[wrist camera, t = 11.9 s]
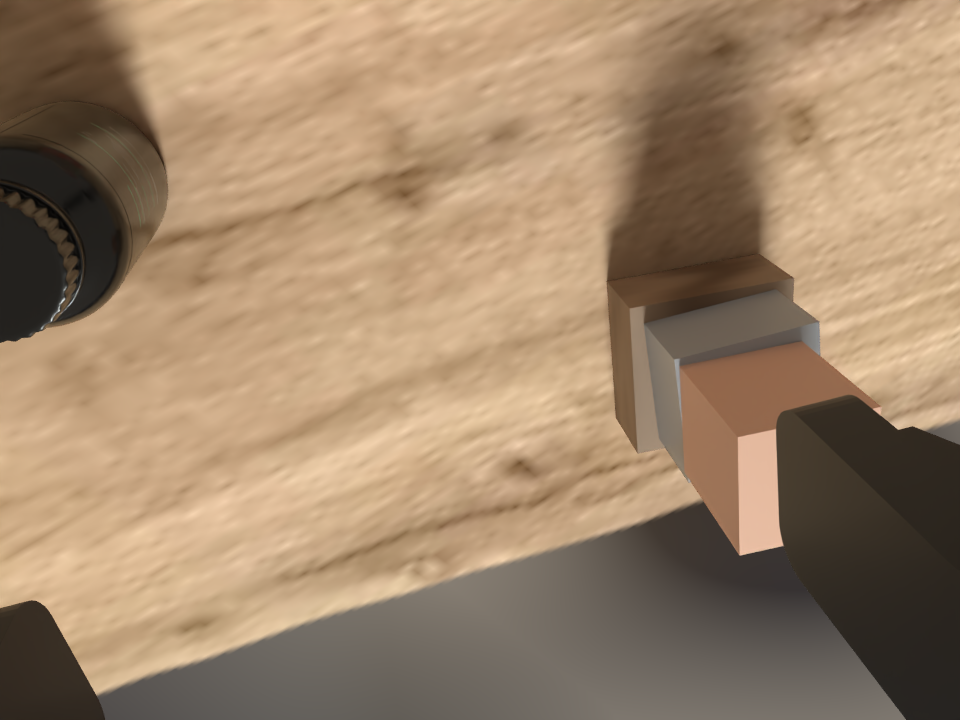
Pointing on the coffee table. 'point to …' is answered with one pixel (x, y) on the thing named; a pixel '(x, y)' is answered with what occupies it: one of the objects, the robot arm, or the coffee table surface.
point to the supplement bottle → (72, 212)
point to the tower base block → (666, 298)
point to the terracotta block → (749, 431)
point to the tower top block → (716, 348)
